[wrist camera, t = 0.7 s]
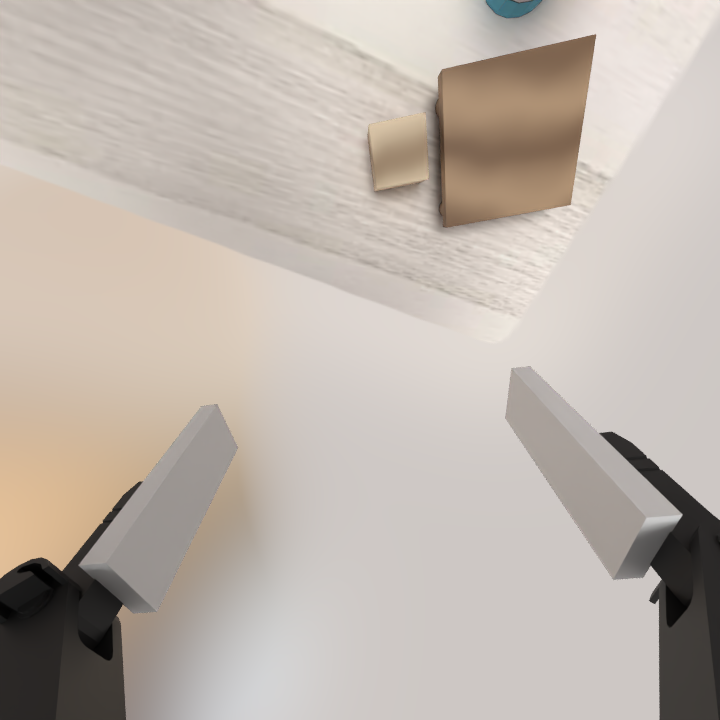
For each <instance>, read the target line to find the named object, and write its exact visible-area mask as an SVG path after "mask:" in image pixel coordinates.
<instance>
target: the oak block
mask: <svg viewBox="0 0 720 720" xmlns="http://www.w3.org/2000/svg"><path fill="white" fill-rule="evenodd" d="M368 144H369V152H370V160H371V167H372V175H373V183H374V191H380V190H385V189H390V188H395V187H400V186H405V185H410V184H415V183H420V182H423V181H425V180H427V179H429V169H428V150H427V130H426V112H424V113H419V114H415V115H410V116H406V117H401V118H396V119H392V120H387V121H383V122H378V123H373V124H369V127H368Z"/></svg>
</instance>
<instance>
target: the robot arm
mask: <svg viewBox="0 0 720 720" xmlns="http://www.w3.org/2000/svg"><path fill="white" fill-rule="evenodd" d="M505 418H506V420H507V422H508V423H509V424H510V426H511V427H512V429H513V430H514V432H515V433H516V435H517V436H518V438H519V439H520V441H521V442H522V444H523V445H524V447H525V448H526V450H527V451H528V453H529V454H530V456H531V457H532V459H533V460H534V462H535V463H536V465H537V466H538V468H539V469H540V471H541V472H542V474H543V475H544V477H545V478H546V480H547V481H548V483H549V484H550V486H551V487H552V489H553V490H554V492H555V493H556V495H557V496H558V498H559V499H560V501H561V502H562V504H563V505H564V507H565V508H566V510H567V511H568V513H569V514H570V516H571V517H572V519H573V520H574V522H575V523H576V525H577V526H578V528H579V529H580V531H581V532H582V534H583V535H584V536H585V538H586V540H587V541H588V543H589V544H590V546H591V547H592V549H593V550H594V552H595V553H596V554H597V556H598V557H599V559H600V560H601V562H602V564H603V565H604V567H605V568H606V569H607V571H608V573H609V574H610V576H611V577H612V579H614V580H615V579H628V578H643V577H644V575H645V573H646V572H647V571H648V569H649V567H650V566H652V567H653V569H654V570H655V571H656V572H657V574H658V575H659V576H660V577H661V579H662V580H661V581H660V583H659V584H658V586H657V587H656V588H655V590H654V591H653V593H652V595H651V597H650V600H649V601H650V602H652V603H654V604H655V603H656V602H657V601H658V599H659V681H660V682H659V684H660V685H659V686H660V688H659V689H660V690H659V692H660V720H720V520H719V519H717V518H716V517H715V516H713V515H712V514H711V513H710V512H709V511H708V510H707V509H706V508H704V507H703V506H702V505H701V504H700V503H699V502H698V501H696V500H695V499H694V498H693V497H692V496H691V495H690V494H689V493H688V492H686V491H685V490H684V489H683V488H682V487H681V486H680V485H678V484H677V483H676V482H675V481H674V480H673V479H672V478H670V476H668V475H667V474H666V473H665V472H664V471H663V470H660V469H659V467H658V466H657V465H656V464H655V463H654V462H653V461H652V460H650V459H647V457H646V455H644V454H643V452H641V451H640V450H639V449H638V448H637V447H636V446H635V445H634V444H632V443H631V442H629V441H628V440H626V439H624V438H622V437H621V436H618V435H617V434H615V433H613V432H605V433H598V432H597V431H596V430H595V429H594V428H593V427H592V426H591V425H590V424H589V423H588V422H587V421H586V420H585V419H584V418H583V417H582V416H581V415H580V414H579V413H577V411H576V410H575V409H573V408H572V407H571V406H570V405H569V404H568V403H567V402H566V401H565V400H564V399H563V398H562V397H561V396H560V395H559V394H558V393H557V392H556V391H555V390H554V389H553V388H552V387H551V386H550V385H549V384H548V383H547V382H545V380H544V379H543V378H542V377H541V376H539V374H537V373H536V372H535V371H534V370H533V369H532V368H531V367H530V366H528V367H519V368H512V369H511V377H510V385H509V393H508V401H507V409H506V417H505ZM237 449H238V446H237V444H236V442H235V440H234V438H233V436H232V434H231V432H230V430H229V428H228V426H227V424H226V421H225V420H224V417H223V415H222V413H221V411H220V409H219V407H218V405H217V404H214V405H206V406H201V408H200V409H199V410H198V411H197V412H196V414H195V415H194V416H193V418H192V419H191V420H190V422H189V423H188V424H187V426H186V427H185V428H184V429H183V431H182V432H181V433H180V434H179V436H178V437H177V438H176V440H175V441H174V442H173V443H172V445H171V446H170V448H169V449H168V450H167V452H166V453H165V454H164V455H163V457H162V458H161V459H160V460H159V462H158V463H157V464H156V466H155V467H154V468H153V469H152V471H151V472H150V474H149V475H148V476H147V477H146V479H145V480H144V481H142V482H138V483H137V484H136V485H135V486H133V487H132V488H131V489H130V490H129V491H128V492H126V493H125V494H124V495H123V496H122V498H121V499H120V500H119V502H118V503H117V504H116V505H115V506H114V508H113V510H112V512H109V514H108V515H107V516H106V517H105V519H104V520H103V523H102V524H100V525H99V526H98V527H97V529H96V530H95V531H94V533H93V534H92V535H91V536H90V537H89V539H88V540H87V541H86V542H85V544H84V545H83V546H82V547H81V549H80V550H79V551H78V553H77V554H76V555H75V556H74V557H73V559H72V560H71V561H70V562H69V564H68V565H67V566H66V567H65V568H64V570H63V571H60V570H59V569H58V568H57V567H56V566H55V565H53V564H52V563H51V562H50V561H48V560H47V559H44V558H36V559H31V560H30V561H27V562H25V563H23V564H21V565H19V566H18V567H16V568H14V569H13V570H11V571H10V572H8V573H7V574H5V575H4V576H3V577H2V578H1V579H0V720H126V712H125V694H124V675H123V657H122V638H121V623H120V621H119V618H118V617H117V616H116V615H117V614H118V612H119V610H120V609H121V607H122V605H124V606H126V607H127V608H128V609H129V610H130V611H131V612H132V613H146V612H157V611H158V609H159V607H160V605H161V603H162V601H163V599H164V597H165V595H166V593H167V591H168V589H169V587H170V585H171V583H172V581H173V579H174V577H175V574H176V572H177V570H178V568H179V566H180V564H181V562H182V560H183V558H184V556H185V554H186V552H187V550H188V548H189V546H190V544H191V542H192V540H193V538H194V536H195V534H196V532H197V530H198V528H199V526H200V524H201V522H202V520H203V518H204V516H205V514H206V511H207V510H208V508H209V506H210V504H211V501H212V500H213V498H214V495H215V493H216V491H217V489H218V487H219V485H220V483H221V481H222V479H223V477H224V475H225V473H226V471H227V469H228V467H229V465H230V463H231V461H232V459H233V457H234V455H235V453H236V451H237Z"/></svg>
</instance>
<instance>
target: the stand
mask: <svg viewBox="0 0 720 720" xmlns="http://www.w3.org/2000/svg"><path fill="white" fill-rule="evenodd" d="M595 39H596V34H595V35H591V36H586V37H582V38H578V39H573V40H569V41H565V42H560V43H556V44H551V45H547V46H543V47H538V48H534V49H530V50H525V51H521V52H516V53H512V54H508V55H503V56H499V57H495V58H490V59H486V60H481V61H477V62H473V63H468V64H464V65H459V66H455V67H451V68H446V69H442V71H441V72H440V74H439V76H438V93H439V99H438V100H437V103H436V107H435V110H436V114H437V116H438V117H439V123H440V153H441V183H442V202H441V204H440V207H439V211H440V214H441V215H442V216H443V227H446V228H447V227H453V226H458V225H464V224H469V223H474V222H480V221H485V220H491V219H496V218H502V217H507V216H513V215H518V214H524V213H529V212H534V211H540V210H545V209H551V208H556V207H562V206H567V205H571V198H572V192H573V185H574V178H575V172H576V165H577V158H578V152H579V145H580V138H581V132H582V125H583V119H584V112H585V105H586V99H587V92H588V85H589V79H590V72H591V65H592V59H593V52H594V46H595Z"/></svg>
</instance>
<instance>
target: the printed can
mask: <svg viewBox="0 0 720 720" xmlns="http://www.w3.org/2000/svg"><path fill="white" fill-rule="evenodd" d="M541 1H542V0H486V2H487V4H488V5H489V7H490V8H491V9H492V10H493V11H494V12H495V13H496V14H498V15H500V16H503V17H505V18H515V17H520V16H522V15H524V14H526V13H528V12H530V11H532V10H533V9H534V8H535V7H536V6H537V5H538V4H539V3H540V2H541Z"/></svg>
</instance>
